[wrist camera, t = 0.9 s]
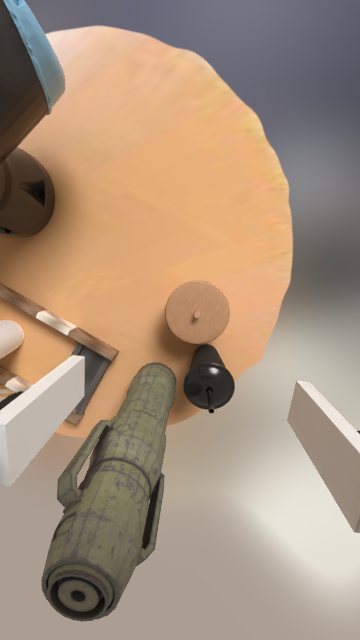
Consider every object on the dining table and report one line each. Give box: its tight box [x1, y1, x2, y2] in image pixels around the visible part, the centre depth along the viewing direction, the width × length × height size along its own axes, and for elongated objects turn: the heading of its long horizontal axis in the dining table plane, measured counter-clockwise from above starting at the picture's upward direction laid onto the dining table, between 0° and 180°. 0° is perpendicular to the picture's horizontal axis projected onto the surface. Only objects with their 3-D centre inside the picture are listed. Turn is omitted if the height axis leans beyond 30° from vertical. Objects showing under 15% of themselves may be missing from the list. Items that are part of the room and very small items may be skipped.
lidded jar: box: [165, 281, 230, 344], centre depth 44 cm, size 11×11×9 cm
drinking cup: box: [184, 344, 235, 413], centre depth 40 cm, size 8×8×20 cm
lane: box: [0, 283, 119, 425], centre depth 51 cm, size 28×18×3 cm, turn 60°
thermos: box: [42, 363, 176, 621], centre depth 35 cm, size 9×12×35 cm
